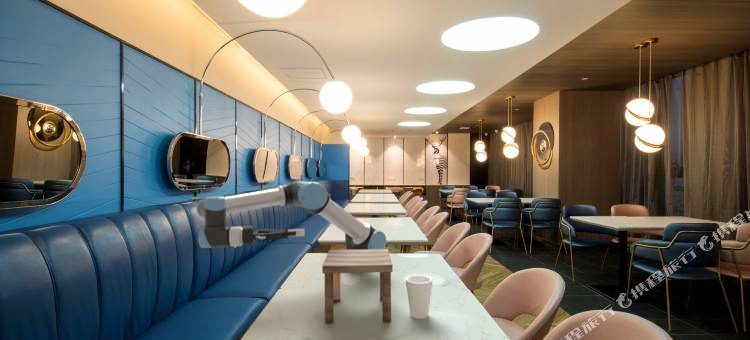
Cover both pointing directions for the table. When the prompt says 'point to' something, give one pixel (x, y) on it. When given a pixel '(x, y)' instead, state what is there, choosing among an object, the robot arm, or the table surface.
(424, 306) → the foam cup
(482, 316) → the table surface
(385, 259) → the stool
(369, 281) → the table surface
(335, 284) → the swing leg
